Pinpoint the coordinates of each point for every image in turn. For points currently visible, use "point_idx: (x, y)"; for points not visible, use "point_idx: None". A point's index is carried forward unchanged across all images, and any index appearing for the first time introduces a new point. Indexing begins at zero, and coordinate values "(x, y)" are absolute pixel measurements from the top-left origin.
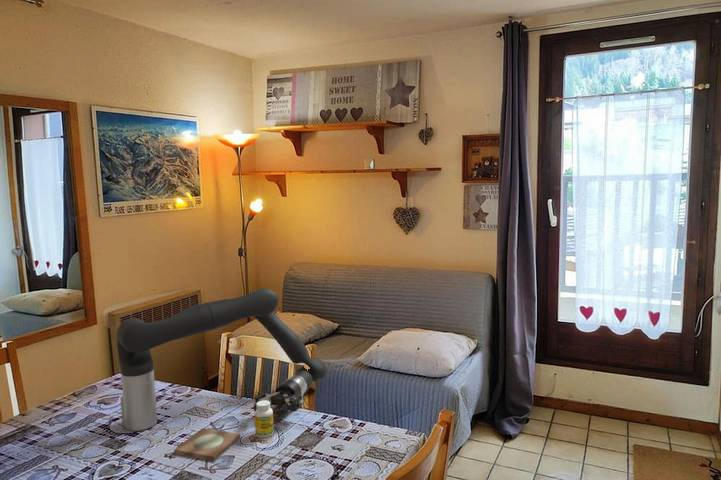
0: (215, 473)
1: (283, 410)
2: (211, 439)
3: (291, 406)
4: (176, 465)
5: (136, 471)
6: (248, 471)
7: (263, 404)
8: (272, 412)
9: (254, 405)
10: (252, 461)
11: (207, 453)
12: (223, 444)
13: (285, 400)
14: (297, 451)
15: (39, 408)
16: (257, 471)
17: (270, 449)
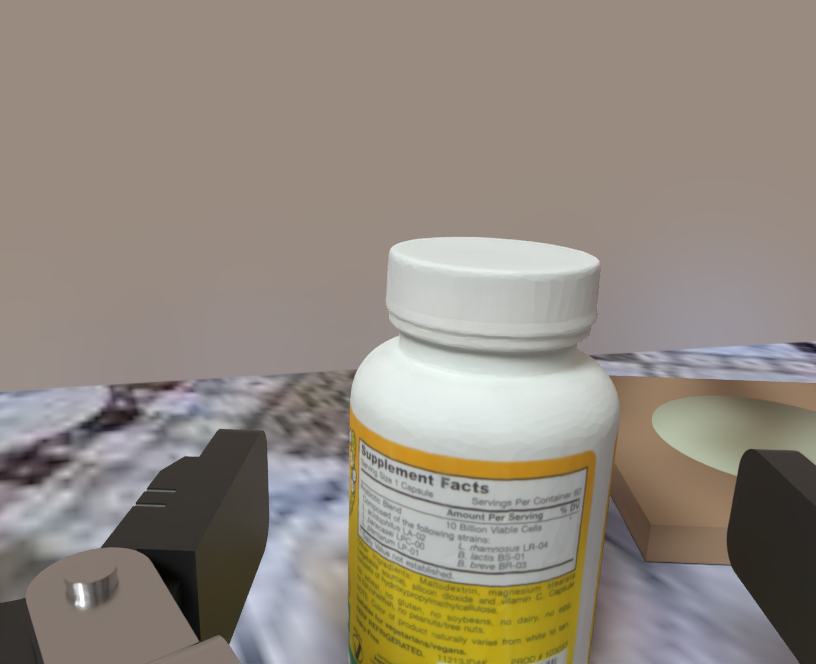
0: None
1: (189, 461)
2: (778, 449)
3: (5, 622)
4: (701, 371)
5: (800, 347)
6: (322, 377)
7: (463, 246)
8: (353, 403)
9: (793, 451)
10: (342, 414)
11: (627, 382)
12: (631, 431)
13: (205, 643)
14: (19, 503)
15: None
16: (274, 380)
17: (270, 493)
